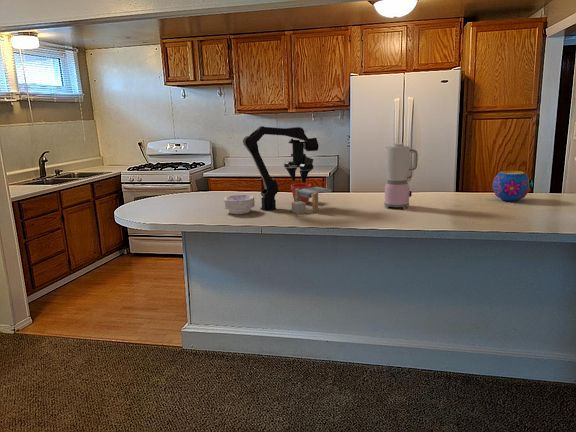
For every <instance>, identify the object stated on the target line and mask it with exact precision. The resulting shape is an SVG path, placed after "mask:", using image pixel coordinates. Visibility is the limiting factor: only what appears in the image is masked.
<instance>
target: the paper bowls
mask: <svg viewBox="0 0 576 432" xmlns="http://www.w3.org/2000/svg"><path fill="white" fill-rule="evenodd" d="M223 203H224V205H223V206H224V209H226V210H228V212H229V213H230V214H232V215H244V214H248V213H250V212H251V211H252V208H254V207H256V203H255V196H253V194H252V195H251V194H233V195H228V196H225V197H224V198H223Z"/></svg>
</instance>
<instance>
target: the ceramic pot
mask: <svg viewBox="0 0 576 432" xmlns="http://www.w3.org/2000/svg"><path fill="white" fill-rule="evenodd" d="M533 186H534V181H533V180H532V179H531V178H530V177H529V176H528V174H526V172H524V171H520V170H503V171H502V170H501V171H499V172H498V173H497V174H496V176H495V177H494V178H493V182H492V190H493V193H494V195H495V196H496V197H497V198H498V199H500V200H502V201H506V202H517V201H519V200H522V199H524V198H525V197H526V196H527V195H528V193H529V192H530V190H531V189H532V188H534V187H533Z"/></svg>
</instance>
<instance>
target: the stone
mask: <svg viewBox="0 0 576 432" xmlns="http://www.w3.org/2000/svg"><path fill="white" fill-rule="evenodd" d="M306 204H307V203H305V202H301V201H298V202H294V201H293V202H291V213H294V214H296V215H297V214H298V215H299V214H305V213H306V212H307V211H306V208H307V207H306Z"/></svg>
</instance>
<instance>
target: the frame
mask: <svg viewBox="0 0 576 432" xmlns="http://www.w3.org/2000/svg"><path fill="white" fill-rule="evenodd" d="M298 190H300V189H299V188H298V189H295V202H298V201H301V196H299V192H298ZM311 200H312V208H308V207H306V212H309V213H312V214H318V213H319V194H318V193H317V192H314V193H312V198H311Z"/></svg>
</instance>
